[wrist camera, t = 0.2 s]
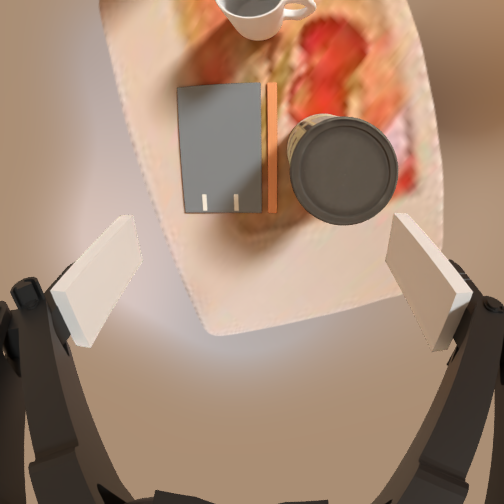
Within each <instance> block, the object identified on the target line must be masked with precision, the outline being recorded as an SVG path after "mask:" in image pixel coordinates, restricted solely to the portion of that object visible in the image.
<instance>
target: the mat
mask: <svg viewBox="0 0 504 504" xmlns="http://www.w3.org/2000/svg"><path fill="white" fill-rule="evenodd" d="M177 93H178V117H179V135H180V151H181V165H182V178H183V189H184V201H185V211H186V212H229V213H262V171H261V84H260V83H231V84H214V85H201V86H190V87H181V88H177Z"/></svg>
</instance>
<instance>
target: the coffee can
mask: <svg viewBox="0 0 504 504" xmlns="http://www.w3.org/2000/svg"><path fill="white" fill-rule="evenodd" d="M287 157H288V161H289V165H290V180H291V184H292V188H293V191H294V193H295V195H296V197H297V199H298V201H299V202H300V204H301V205H302V206H303V207H304V208H305V210H307V211H308V212H309V213H310V214H311V215H313V216H314V217H316V218H318V219H319V220H322V221H324V222H326V223H329V224H334V225H353V224H358V223H362V222H364V221H366V220H368V219H370V218H372V217H374V216H375V215H377V214H378V213H379V212H380V211H381V210H382V209H383V208H384V207H385V206H386V205H387V204H388V202H389V201H390V199H391V197H392V195H393V193H394V191H395V188H396V185H397V180H398V162H397V158H396V154H395V151H394V149H393V147H392V145H391V143H390V142H389V140H388V139H387V137H386V136H385V135H384V134H383V133H382V132H381V131H380V130H379V129H378V128H376V127H375V126H374V125H372V124H370V123H368V122H366V121H364V120H361V119H358V118H353V117H339V116H334V115H331V114H316V115H313V116H309V117H307V118H305V119H304V120H302V121H301V122H299V123H298V124H297V125H296V126H295V128H294V129H293V130H292V132H291V134H290V136H289V139H288V143H287Z"/></svg>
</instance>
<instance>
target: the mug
mask: <svg viewBox="0 0 504 504" xmlns="http://www.w3.org/2000/svg"><path fill="white" fill-rule="evenodd" d="M215 1H216V3H217V5H218V6H219V7H220V9H221V10H222V11H223V13H224V14H225V15H226V17H227V18H228V19H229V21H230V22H231V23H232V25H233V26H234V27H235V29H236V30H237V31H238V32H239V33H240V34H241V35H242V36H243V37H245V38H247V39H250V40H255V41H261V40H266V39H269V38H271V37H273V36H274V35H276V34H277V33H278V32H279V30H280V28H281V26H282V22H283V21H284V20H302V19H303V18H305V17H307V16H309V15H311V14H312V13H313V12H314V11H315V10H316V4H315V2H314V1H313V0H215ZM288 3H297V4H302V5H304V6H306V7H305V8H303V9H299V10H288V9H284V6H285V5H286V4H288Z"/></svg>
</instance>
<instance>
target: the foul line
mask: <svg viewBox="0 0 504 504" xmlns="http://www.w3.org/2000/svg"><path fill="white" fill-rule="evenodd" d="M267 90H268V213H277V83H267Z"/></svg>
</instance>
